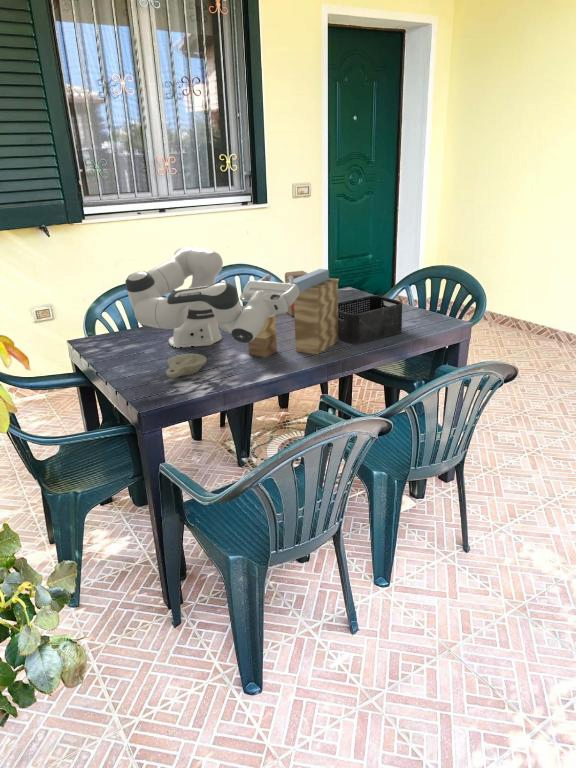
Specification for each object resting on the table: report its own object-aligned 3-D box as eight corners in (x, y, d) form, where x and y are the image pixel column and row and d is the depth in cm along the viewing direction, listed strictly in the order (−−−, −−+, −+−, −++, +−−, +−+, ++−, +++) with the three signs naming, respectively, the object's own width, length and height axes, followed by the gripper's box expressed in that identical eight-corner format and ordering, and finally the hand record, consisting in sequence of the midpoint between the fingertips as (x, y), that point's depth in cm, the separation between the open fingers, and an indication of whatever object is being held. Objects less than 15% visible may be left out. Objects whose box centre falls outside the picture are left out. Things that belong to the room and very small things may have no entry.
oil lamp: (190, 387, 198) (188, 373, 196) (152, 384, 201) (151, 370, 200) (213, 366, 216) (212, 353, 214) (179, 364, 220) (177, 351, 218)
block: (285, 312, 285) (284, 272, 277) (304, 310, 287) (303, 270, 280) (291, 317, 276) (290, 275, 268) (311, 314, 278) (310, 273, 271)
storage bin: (351, 346, 232) (351, 314, 227) (324, 335, 248) (324, 304, 243) (405, 333, 246) (406, 302, 241) (376, 323, 261) (376, 294, 256)
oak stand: (318, 354, 223) (317, 288, 214) (294, 351, 229) (292, 286, 219) (339, 341, 238) (338, 279, 228) (316, 338, 243) (315, 277, 234)
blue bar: (296, 293, 208) (296, 282, 206) (287, 292, 210) (286, 281, 208) (328, 279, 228) (328, 269, 227) (319, 278, 230) (319, 268, 229)
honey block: (265, 338, 220) (264, 319, 218) (247, 336, 224) (246, 317, 222) (275, 333, 227) (275, 314, 224) (259, 330, 231) (257, 312, 228)
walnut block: (266, 357, 223) (265, 338, 220) (249, 354, 227) (247, 336, 224) (276, 351, 230) (276, 333, 227) (260, 348, 234) (259, 330, 231)
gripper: (240, 307, 202) (258, 281, 209) (290, 313, 192) (307, 285, 199) (234, 293, 198) (252, 267, 205) (285, 299, 188) (302, 271, 195)
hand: (280, 276), depth 202 cm, fingers open, 8 cm apart
